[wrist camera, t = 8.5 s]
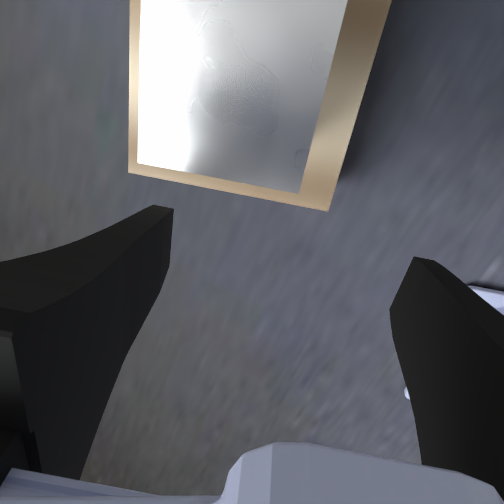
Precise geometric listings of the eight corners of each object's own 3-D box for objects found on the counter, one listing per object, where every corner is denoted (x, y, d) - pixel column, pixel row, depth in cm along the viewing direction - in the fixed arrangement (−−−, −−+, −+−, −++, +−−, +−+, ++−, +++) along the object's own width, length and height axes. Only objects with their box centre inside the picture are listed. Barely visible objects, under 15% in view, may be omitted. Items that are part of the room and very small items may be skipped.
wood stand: (324, 185, 21) (328, 211, 18) (149, 150, 21) (128, 172, 18) (436, -210, 13) (470, -259, 11) (164, -267, 13) (132, -330, 11)
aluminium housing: (297, 144, 17) (298, 194, 13) (177, 121, 17) (137, 162, 12) (369, -163, 12) (410, -252, 8) (200, -199, 12) (147, -307, 8)
